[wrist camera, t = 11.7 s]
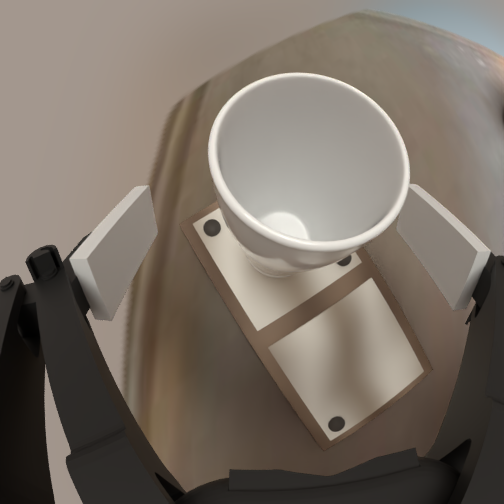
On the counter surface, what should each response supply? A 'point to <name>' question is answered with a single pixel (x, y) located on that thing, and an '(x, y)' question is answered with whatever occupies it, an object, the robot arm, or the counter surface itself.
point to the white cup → (305, 171)
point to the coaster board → (317, 331)
